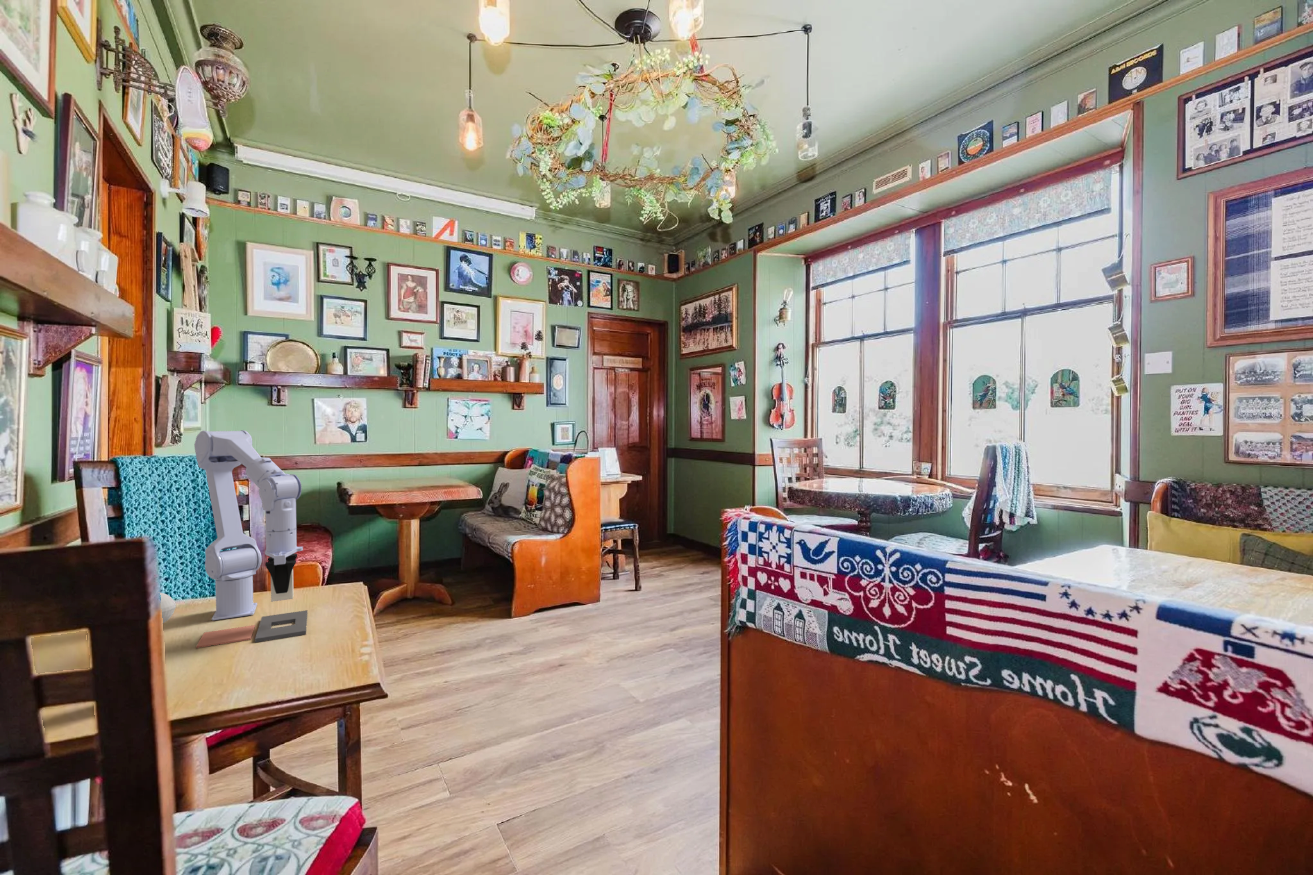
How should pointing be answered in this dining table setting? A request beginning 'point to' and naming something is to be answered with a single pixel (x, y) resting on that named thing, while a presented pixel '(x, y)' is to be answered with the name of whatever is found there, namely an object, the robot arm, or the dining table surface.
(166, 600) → the lollipop
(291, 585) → the plug
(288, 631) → the board
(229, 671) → the dining table surface
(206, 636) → the mat
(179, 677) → the dining table surface
